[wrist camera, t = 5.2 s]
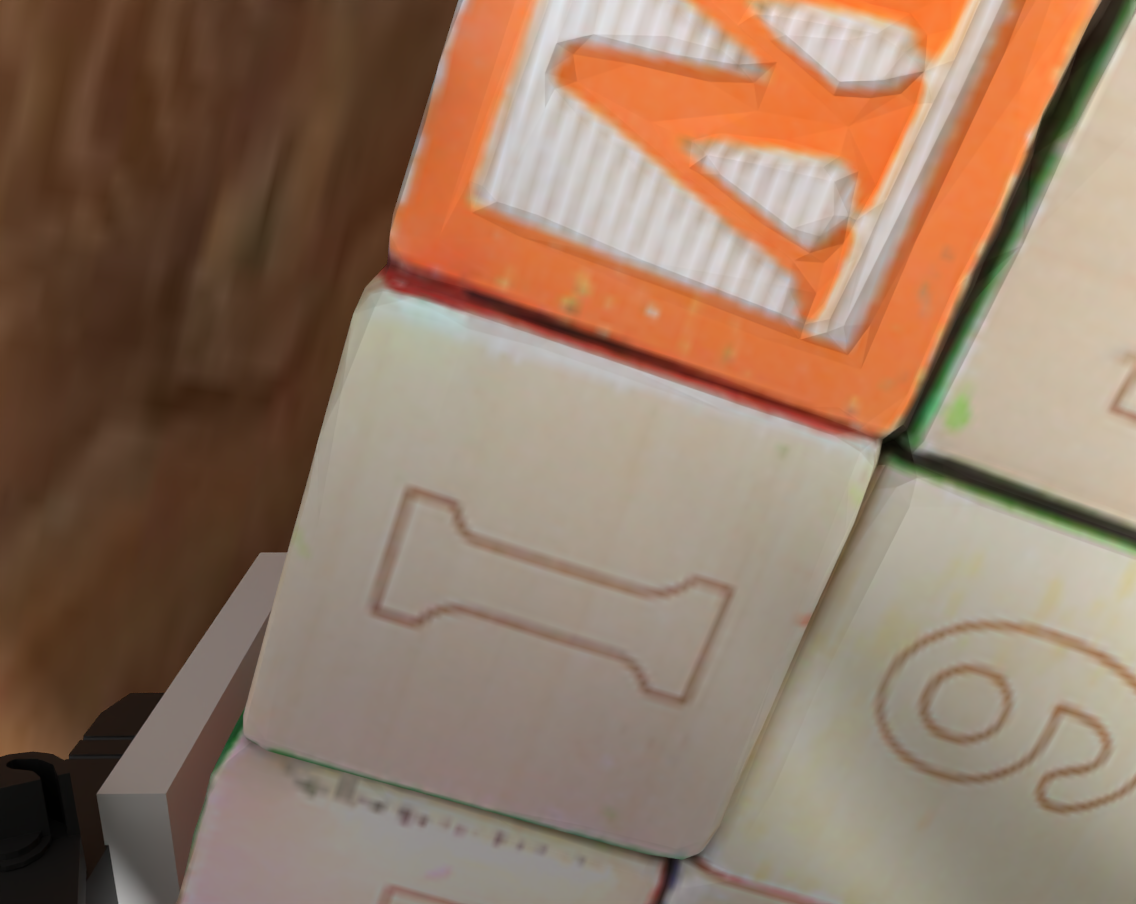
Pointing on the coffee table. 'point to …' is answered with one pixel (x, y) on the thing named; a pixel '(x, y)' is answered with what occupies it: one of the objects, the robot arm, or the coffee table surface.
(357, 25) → the coffee table surface
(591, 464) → the stack of blocks
